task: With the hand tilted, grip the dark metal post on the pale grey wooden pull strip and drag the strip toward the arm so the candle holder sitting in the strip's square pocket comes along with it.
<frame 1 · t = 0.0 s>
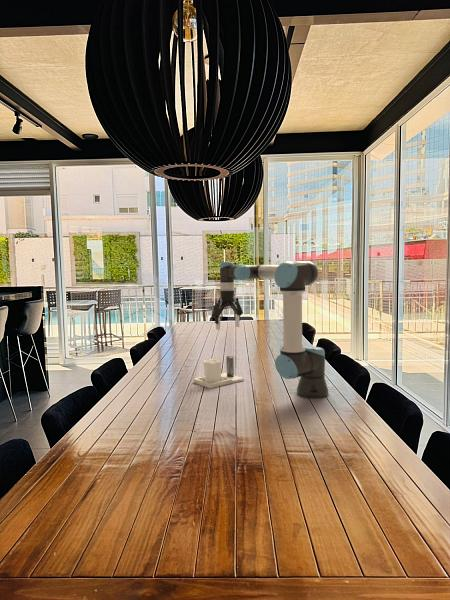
hand: (227, 328, 239), 28 cm above the table, tool pointing down, fingers open, 13 cm apart
candle holder: (213, 383, 232), resting in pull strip
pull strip: (218, 370, 234), point 6 cm above the table, slide at 0.0 cm
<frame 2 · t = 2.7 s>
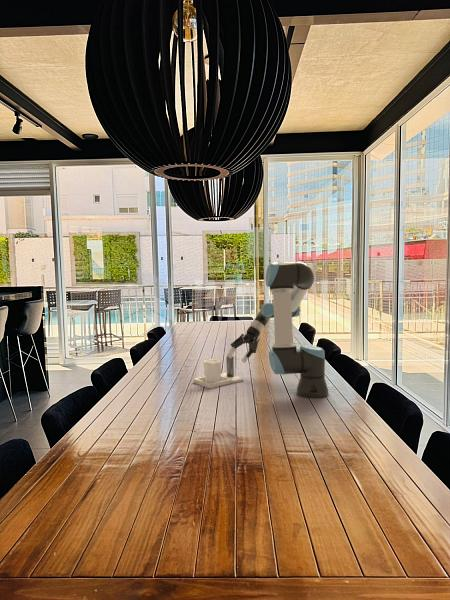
hand: (235, 359, 243), 10 cm above the table, tool tilted 45°, fingers open, 13 cm apart
nothing on the table moved.
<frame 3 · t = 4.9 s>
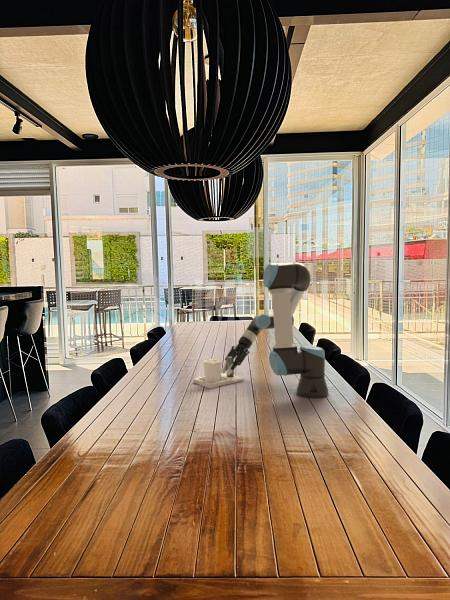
hand: (224, 373, 237), 4 cm above the table, tool tilted 45°, fingers closed on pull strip, 4 cm apart
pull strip: (218, 370, 234), point 6 cm above the table, slide at 0.0 cm, touching gripper
everything else where it was.
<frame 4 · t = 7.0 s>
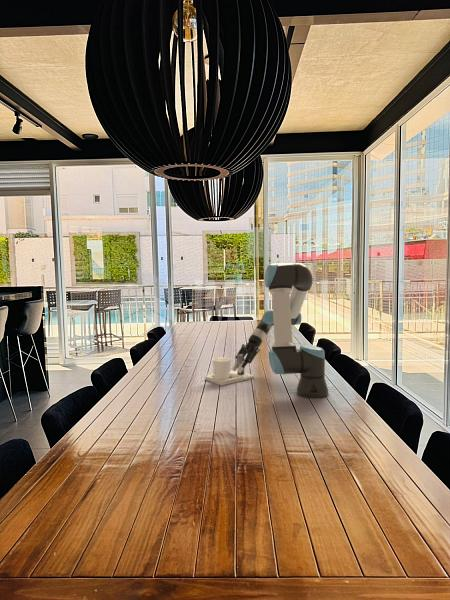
hand: (235, 370, 242), 4 cm above the table, tool tilted 45°, fingers closed on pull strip, 4 cm apart
candle holder: (221, 381, 236), resting in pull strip
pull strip: (229, 367, 239), point 6 cm above the table, slide at 7.7 cm, touching candle holder, gripper
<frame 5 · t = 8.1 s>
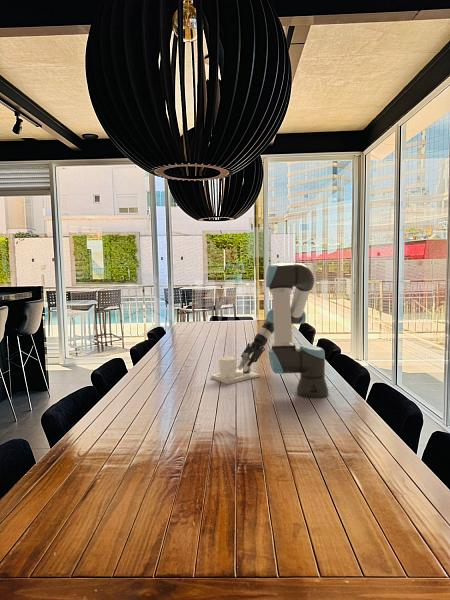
hand: (241, 369, 244), 4 cm above the table, tool tilted 45°, fingers closed on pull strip, 4 cm apart
candle holder: (227, 379, 238), resting in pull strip
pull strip: (235, 366, 241), point 6 cm above the table, slide at 11.8 cm, touching candle holder, gripper
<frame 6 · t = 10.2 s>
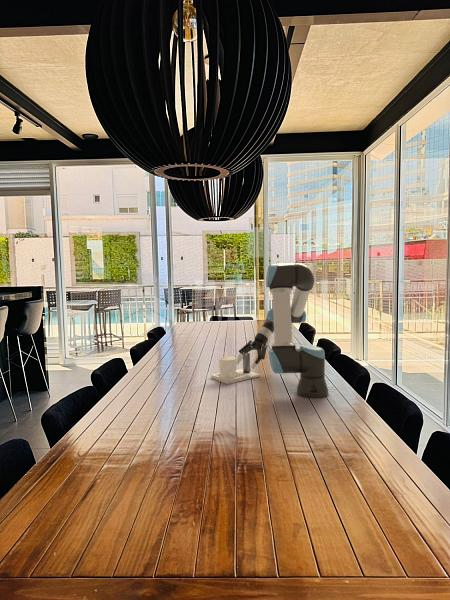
hand: (244, 365, 245), 5 cm above the table, tool tilted 45°, fingers open, 13 cm apart
candle holder: (228, 379, 238), resting in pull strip
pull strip: (235, 366, 241), point 6 cm above the table, slide at 11.9 cm
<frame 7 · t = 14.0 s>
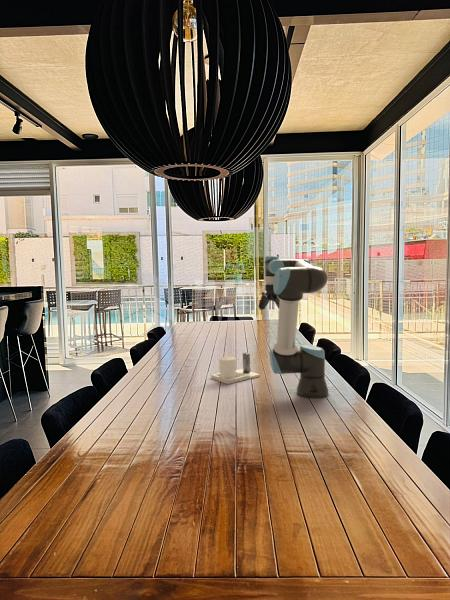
hand: (272, 321, 241), 31 cm above the table, tool pointing down, fingers open, 13 cm apart
nothing on the table moved.
at the end: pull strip slide at 11.9 cm; candle holder moved 10.0 cm from its start; candle holder tilted 0° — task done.
